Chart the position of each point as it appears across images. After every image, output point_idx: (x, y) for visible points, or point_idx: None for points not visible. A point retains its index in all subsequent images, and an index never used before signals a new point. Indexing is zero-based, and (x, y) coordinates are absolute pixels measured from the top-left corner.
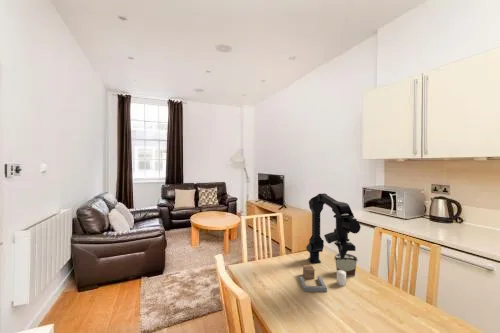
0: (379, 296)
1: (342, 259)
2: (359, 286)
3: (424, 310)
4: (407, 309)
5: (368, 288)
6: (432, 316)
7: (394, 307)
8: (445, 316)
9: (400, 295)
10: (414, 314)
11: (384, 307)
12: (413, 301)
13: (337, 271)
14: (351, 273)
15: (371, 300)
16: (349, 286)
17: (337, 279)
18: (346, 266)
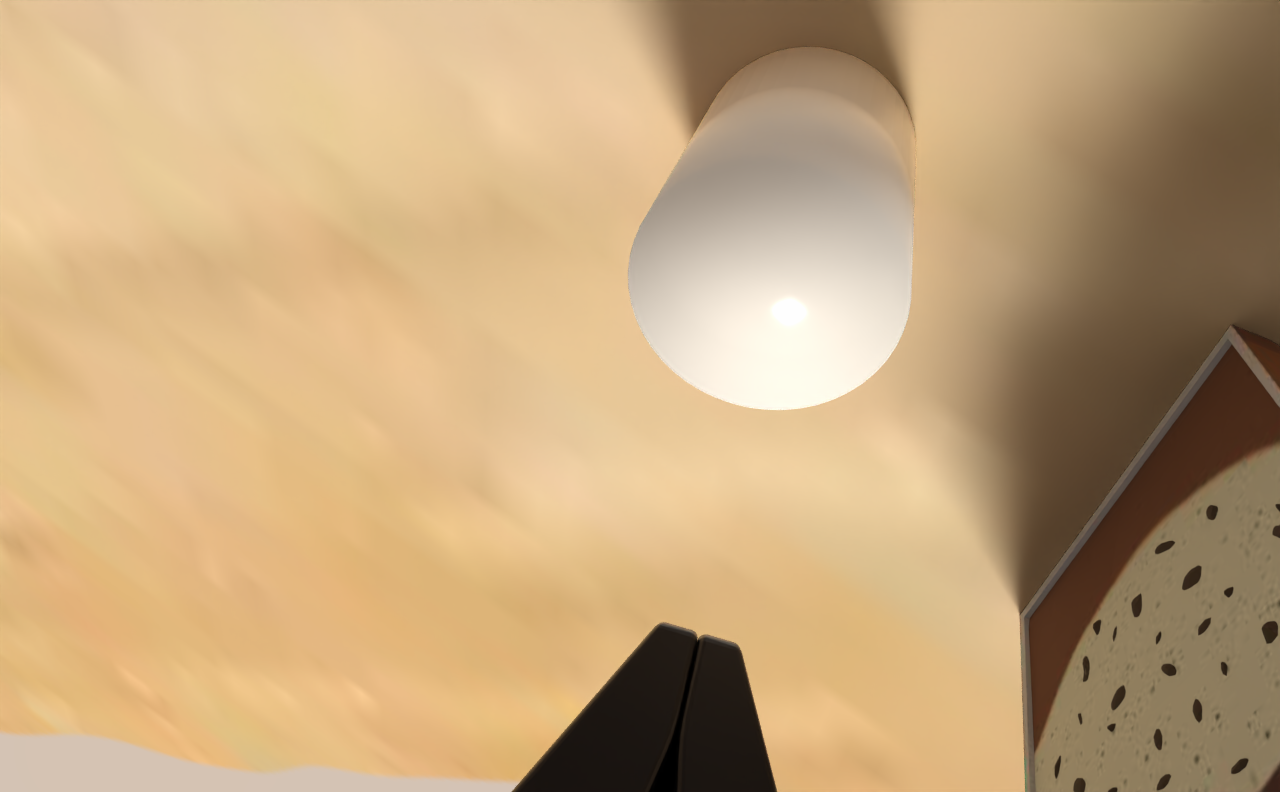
0: (340, 491)
1: (1274, 764)
2: (636, 430)
3: (121, 671)
4: (103, 558)
5: (557, 511)
6: (39, 651)
7: (113, 469)
8: (67, 728)
9: (374, 705)
10: (28, 547)
11: (86, 360)
12: (265, 714)
13: (836, 204)
14: (1062, 603)
15: (227, 317)
16: None
17: (793, 85)
18: (1149, 655)
